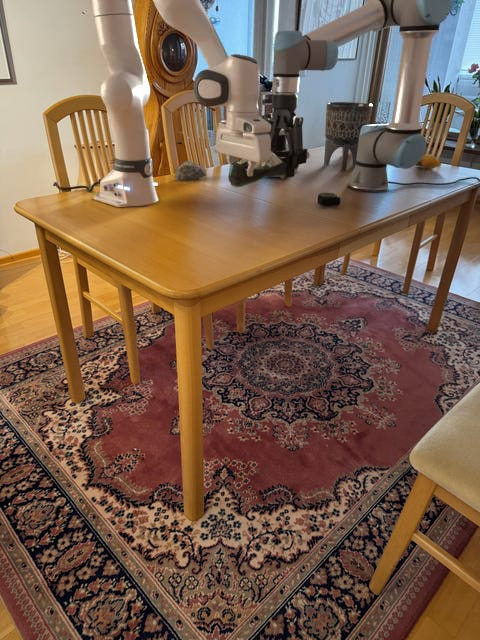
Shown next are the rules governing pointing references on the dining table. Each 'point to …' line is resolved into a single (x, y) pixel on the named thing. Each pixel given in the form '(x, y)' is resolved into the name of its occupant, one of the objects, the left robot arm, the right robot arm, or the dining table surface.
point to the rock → (190, 172)
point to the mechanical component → (286, 152)
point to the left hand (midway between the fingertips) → (240, 173)
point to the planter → (345, 128)
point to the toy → (428, 162)
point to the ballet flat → (256, 171)
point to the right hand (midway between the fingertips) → (280, 174)
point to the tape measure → (328, 199)
